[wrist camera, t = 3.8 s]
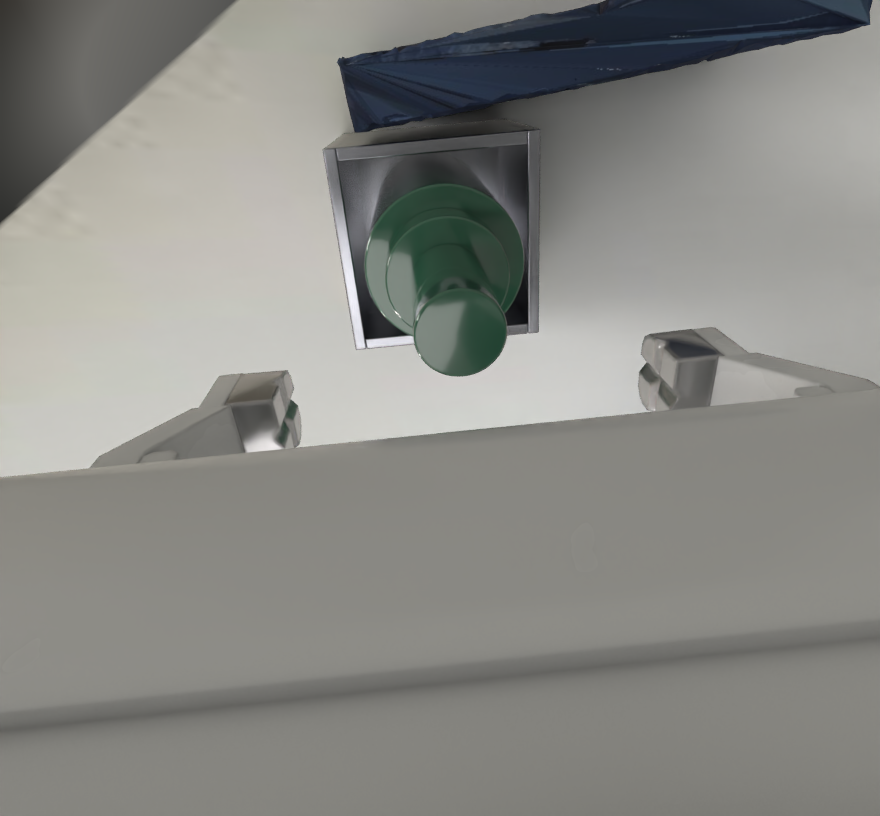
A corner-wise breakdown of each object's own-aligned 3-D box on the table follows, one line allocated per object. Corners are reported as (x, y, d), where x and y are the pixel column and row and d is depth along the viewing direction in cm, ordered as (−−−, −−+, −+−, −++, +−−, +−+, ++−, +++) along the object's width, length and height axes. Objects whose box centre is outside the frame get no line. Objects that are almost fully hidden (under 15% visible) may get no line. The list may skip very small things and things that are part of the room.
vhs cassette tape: (366, 121, 29) (350, 135, 20) (352, 53, 27) (329, 37, 19) (727, 56, 28) (870, 41, 20) (733, -17, 27) (890, -67, 18)
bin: (505, 118, 29) (540, 129, 22) (508, 278, 33) (539, 332, 26) (342, 133, 29) (322, 149, 22) (366, 292, 33) (355, 350, 26)
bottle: (484, 147, 29) (573, 210, 14) (488, 262, 32) (566, 418, 17) (368, 157, 29) (332, 233, 14) (383, 272, 32) (367, 437, 17)
